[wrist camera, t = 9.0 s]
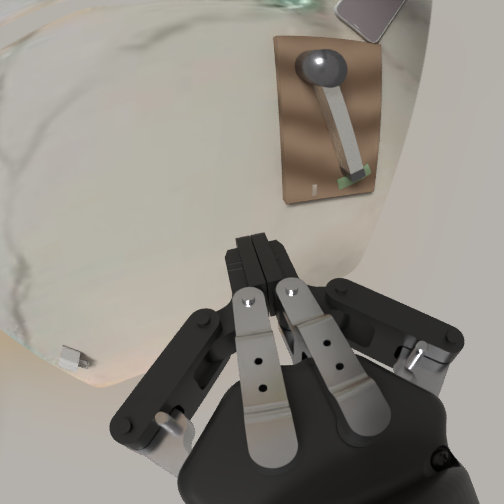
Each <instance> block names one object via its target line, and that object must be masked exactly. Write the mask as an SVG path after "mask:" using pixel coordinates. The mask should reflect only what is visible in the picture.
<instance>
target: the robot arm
mask: <svg viewBox="0 0 504 504" xmlns="http://www.w3.org/2000/svg"><path fill="white" fill-rule="evenodd" d="M236 245H237V248H235V249H230V250H227V253H226V256H225V261H226V266H227V270H228V275H229V280H230V285H231V289H232V299H231V301H230V302H229V304H228V305H227V306H225V307H224V308H222V309H220V310H218V311H214V310H212V309H200V310H197V311H195V312H194V313H193V314H191V316H190V317H189V318H188V319H187V321H186V322H185V323H184V325H183V326H182V327H181V328H180V330H179V331H178V332H177V334H176V335H175V336H174V338H173V339H172V340H171V341H170V343H169V344H168V345H167V347H166V348H165V349H164V351H163V352H162V353H161V354H160V356H159V357H158V358H157V360H156V361H155V362H154V364H153V365H152V366H151V368H150V369H149V370H148V372H147V373H146V374H145V375H144V377H143V378H142V379H141V381H140V382H139V383H138V385H137V386H136V387H135V389H134V390H133V391H132V393H131V394H130V395H129V397H128V398H127V399H126V401H125V402H124V403H123V405H122V406H121V407H120V409H119V410H118V411H117V412H116V414H115V415H114V416H113V418H112V420H111V422H110V433H111V435H112V437H113V439H114V440H116V441H117V442H118V443H120V444H122V445H124V446H126V447H127V448H129V449H130V450H132V451H134V452H137V453H139V454H141V455H144V456H145V457H147V458H148V459H150V460H152V461H153V462H155V463H156V464H157V465H159V466H160V467H162V468H163V469H165V470H166V471H168V472H170V473H171V474H173V475H174V476H176V477H177V478H178V482H177V483H178V490H179V493H180V495H181V497H182V499H183V501H184V502H185V503H186V504H479V501H478V498H477V496H476V493H475V490H474V487H473V485H472V482H471V479H470V477H469V474H468V472H467V470H465V468H464V467H463V466H462V465H461V463H460V462H459V461H458V460H457V459H456V458H455V457H454V455H453V454H452V453H451V451H450V449H449V447H448V444H447V437H446V411H445V408H444V405H443V403H442V402H441V400H440V399H439V398H438V395H439V393H440V390H441V387H442V384H443V382H444V379H445V376H446V373H447V370H448V367H449V365H450V363H451V362H452V361H453V360H454V359H455V357H456V356H457V355H458V354H459V352H460V351H461V350H462V348H463V346H464V337H463V335H462V333H461V332H460V331H459V330H458V329H457V328H455V327H453V326H451V325H449V324H447V323H444V322H442V321H440V320H438V319H436V318H433V317H431V316H429V315H427V314H425V313H422V312H420V311H418V310H416V309H413V308H411V307H409V306H407V305H404V304H402V303H400V302H397V301H395V300H393V299H391V298H389V297H386V296H384V295H382V294H379V293H377V292H375V291H373V290H370V289H368V288H366V287H364V286H361V285H359V284H357V283H354V282H352V281H350V280H347V279H344V278H336V279H333V280H331V281H330V282H328V284H327V286H326V287H314V286H309V285H307V284H306V283H305V282H304V281H302V280H301V279H299V277H298V275H297V273H296V271H295V269H294V267H293V265H292V263H291V261H290V259H289V256H288V254H287V253H286V250H285V248H284V246H283V245H282V244H281V243H280V242H278V241H277V240H273V241H268V240H267V237H266V235H265V233H259V234H254V235H250V236H244V237H240V238H236ZM269 313H270V316H275V315H276V317H277V320H278V327H279V331H280V333H281V335H282V338H283V340H284V342H285V344H286V347H287V349H288V351H289V353H290V356H291V358H292V361H293V365H281V366H280V362H279V357H278V352H277V348H276V343H275V339H274V335H273V331H272V330H271V325H270V321H269ZM351 348H353V349H355V350H357V351H359V352H361V353H363V354H365V355H367V356H369V357H371V358H373V359H375V360H377V361H379V362H381V363H383V364H385V365H387V366H389V367H391V368H393V370H394V373H395V374H394V373H393V372H391V371H389V370H387V369H385V368H383V367H381V366H379V365H377V364H375V363H374V362H372V361H370V360H368V359H366V358H364V357H362V356H359V355H357V354H354V352H353V350H352V349H351ZM235 352H237V358H238V367H239V376H240V381H238V382H236V383H235V384H234V385H233V386H231V387H230V389H228V391H227V392H226V393H225V394H224V396H223V398H222V399H221V401H220V403H219V405H218V406H217V408H216V410H215V412H214V413H213V415H212V417H211V419H210V421H209V422H208V424H207V425H206V427H205V429H204V431H203V432H202V434H201V436H200V437H199V439H198V441H197V442H196V444H195V446H194V447H193V449H191V444H192V440H193V438H194V436H195V428H194V425H193V424H192V422H191V421H190V420H191V418H192V417H193V415H194V414H195V412H196V411H197V409H198V407H199V406H200V404H201V403H202V401H203V400H204V398H205V397H206V395H207V394H208V392H209V391H210V389H211V387H212V386H213V384H214V383H215V381H216V380H217V378H218V376H219V375H220V373H221V372H222V370H223V369H224V367H225V365H226V364H227V362H228V361H229V359H230V356H231V354H234V353H235Z"/></svg>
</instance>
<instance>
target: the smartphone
mask: <svg viewBox="0 0 504 504" xmlns="http://www.w3.org/2000/svg"><path fill="white" fill-rule="evenodd" d="M404 1H405V0H339V1H338V3H337V4H336V5H335V7H334V13H335V15H336V16H337V17H338V18H339V19H341V20H342V21H343V22H345V23H346V24H347V25H348V26H350V27H351V28H352V29H353V30H354V31H356V32H357V33H358V34H359V35H360V36H361V37H363V38H364V39H365V40H366V41H368V42H370V43H375V42H377V41H378V40H379V39H380V37H381V36H382V34H383V33H384V31H385V30H386V28H387V27H388V25H389V24H390V22H391V21H392V19H393V18H394V16H395V15H396V13H397V12H398V10H399V9H400V7H401V6H402V4H403V3H404Z"/></svg>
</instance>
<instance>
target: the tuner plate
mask: <svg viewBox="0 0 504 504" xmlns="http://www.w3.org/2000/svg"><path fill="white" fill-rule="evenodd" d="M273 40H274V52H275V64H276V77H277V91H278V106H279V122H280V140H281V161H282V184H283V200H284V201H285V203H286V204H289V203H295V202H302V201H308V200H315V199H321V198H328V197H335V196H342V195H350V194H357V193H365V192H372V191H374V186H375V178H376V169H377V159H378V148H379V135H380V118H381V89H382V64H381V45H379V44H373V43H367V42H361V41H353V40H345V39H336V38H325V37H309V36H275V37H273ZM320 49H331V50H334V51H336V52H338V53H339V54H341V55H342V56H343V58H344V59H345V61H346V63H347V68H348V72H347V76H346V79H345V80H344V82H343V83H342V84H340V85H339V87H340V90H341V93H342V96H343V99H344V102H345V105H346V108H347V111H348V114H349V117H350V121H351V124H352V127H353V131H354V134H355V138H356V141H357V145H358V149H359V152H360V156H361V160H362V164H363V168H364V170H365V175H366V176H365V177H363V178H361V179H359V180H357V181H354V182H352V181H350V180H349V179H348V178H347V177H346V176H344V175H343V174H342V173H341V169H340V164H339V161H338V158H337V155H336V152H335V148H334V145H333V142H332V139H331V136H330V133H329V130H328V127H327V125H326V122H325V119H324V116H323V113H322V111H321V108H320V105H319V103H318V100H317V97H316V95H315V92H314V90H313V87H312V85H311V84H308V83H305V82H303V81H302V80H301V79H300V78H299V77H298V76H297V74H296V71H295V61H296V59H297V57H298V56H299V55H300V54H301V53H302V52H304V51H308V50H320Z"/></svg>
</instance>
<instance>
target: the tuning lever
mask: <svg viewBox="0 0 504 504" xmlns="http://www.w3.org/2000/svg"><path fill="white" fill-rule="evenodd" d="M295 71H296V74H297V76H298V77H299V78H300V79H301V80H302V81H303V82H305V83H308V84H311V85H312V87H313V90H314V92H315V95H316V97H317V100H318V103H319V105H320V108H321V111H322V113H323V116H324V119H325V122H326V125H327V127H328V130H329V133H330V136H331V139H332V142H333V145H334V148H335V152H336V155H337V158H338V161H339V164H340V169H341V173H342V174H343V175H344V176H346V177H347V178H348V179H349V180H350V181H352V182H354V181H357V180H359V179H361V178H363V177H365V176H366V175H365V170H364V168H363V164H362V160H361V156H360V152H359V149H358V145H357V141H356V138H355V134H354V131H353V127H352V124H351V121H350V117H349V114H348V111H347V108H346V105H345V102H344V99H343V96H342V93H341V90H340V87H339V85H340V84H342V83H343V82H344V80H345V79H346V76H347V72H348V68H347V63H346V61H345V59H344V58H343V56H342V55H341V54H339V53H338V52H336V51H334V50H331V49H320V50H308V51H304V52H302V53H301V54H300V55H299V56H298V57H297V59H296V61H295Z"/></svg>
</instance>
